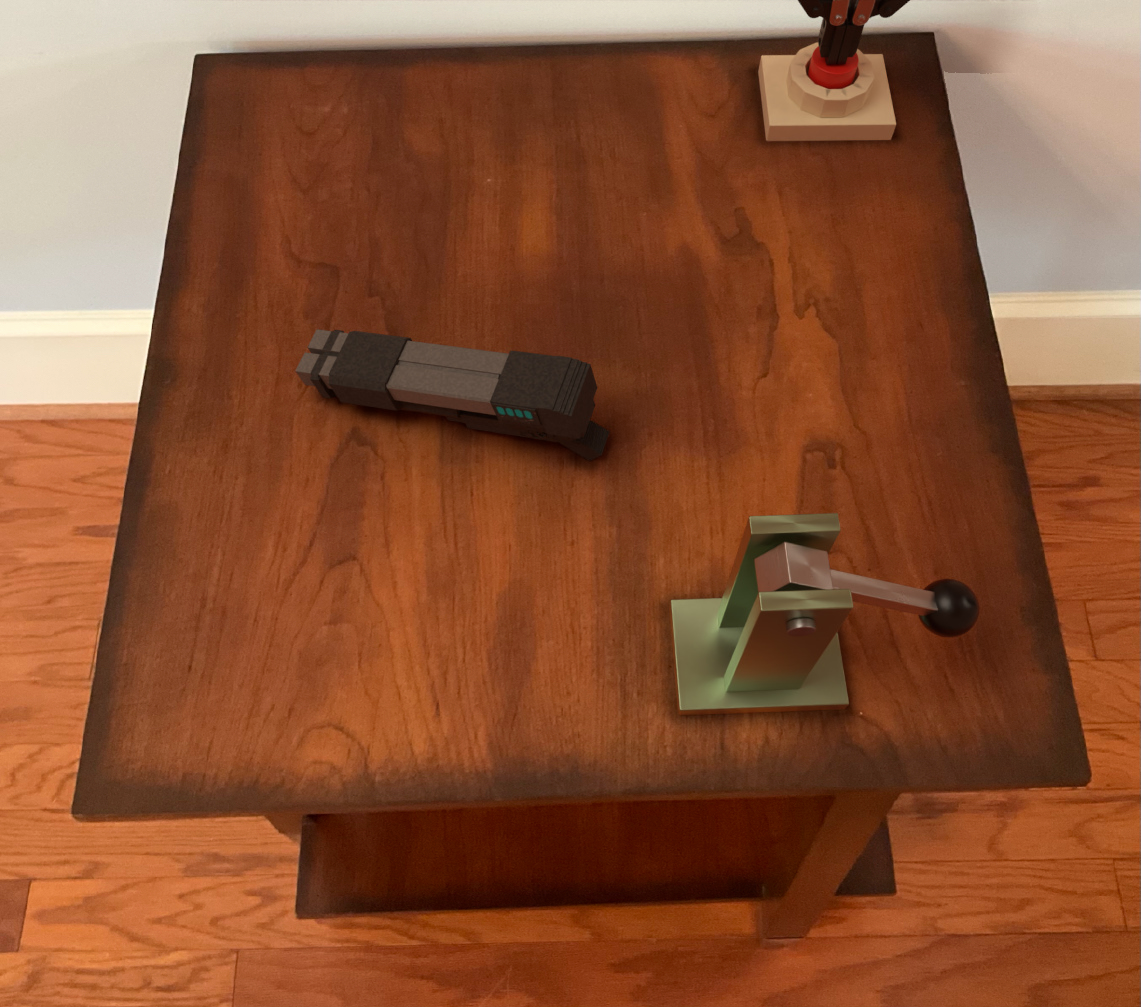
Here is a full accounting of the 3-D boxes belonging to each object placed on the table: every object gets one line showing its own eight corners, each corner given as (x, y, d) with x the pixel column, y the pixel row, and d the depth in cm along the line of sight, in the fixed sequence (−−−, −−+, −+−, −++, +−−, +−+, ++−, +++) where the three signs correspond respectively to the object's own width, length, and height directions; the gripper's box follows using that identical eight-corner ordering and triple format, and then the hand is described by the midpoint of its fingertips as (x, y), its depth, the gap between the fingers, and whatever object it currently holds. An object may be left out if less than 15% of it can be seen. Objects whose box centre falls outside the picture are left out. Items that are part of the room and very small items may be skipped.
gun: (604, 478, 67) (552, 388, 59) (363, 457, 76) (289, 376, 68) (623, 423, 69) (574, 328, 61) (386, 408, 78) (316, 324, 70)
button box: (877, 70, 85) (888, 34, 81) (891, 140, 81) (903, 105, 78) (758, 71, 85) (764, 35, 82) (766, 141, 81) (773, 106, 78)
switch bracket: (827, 600, 64) (891, 492, 50) (845, 709, 60) (917, 625, 47) (668, 605, 63) (690, 499, 50) (677, 715, 60) (703, 633, 47)
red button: (850, 59, 81) (855, 41, 79) (856, 91, 79) (861, 73, 78) (805, 60, 81) (809, 41, 79) (810, 92, 79) (814, 73, 78)
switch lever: (939, 595, 58) (984, 575, 56) (950, 648, 57) (997, 630, 54) (747, 552, 52) (788, 528, 49) (754, 611, 50) (797, 589, 48)
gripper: (795, -138, 62) (752, 92, 77) (1013, -141, 61) (926, 91, 77) (784, -210, 65) (745, 25, 80) (990, -212, 65) (912, 23, 80)
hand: (834, 57), depth 79 cm, fingers closed
